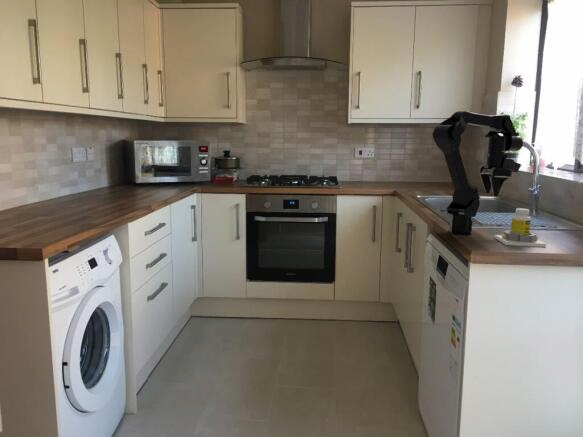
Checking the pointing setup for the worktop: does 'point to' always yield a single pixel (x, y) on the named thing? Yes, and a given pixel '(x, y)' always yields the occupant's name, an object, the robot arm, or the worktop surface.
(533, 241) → the socket base
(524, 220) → the supplement bottle
